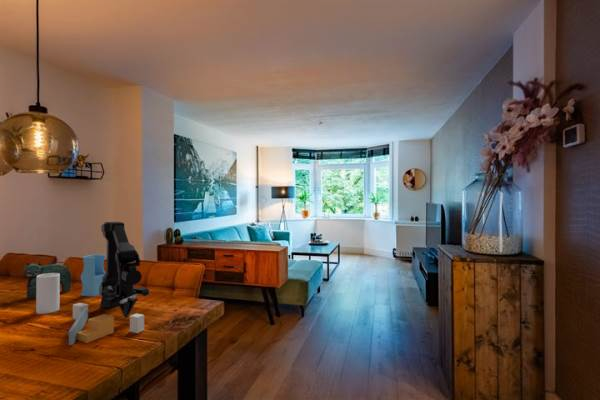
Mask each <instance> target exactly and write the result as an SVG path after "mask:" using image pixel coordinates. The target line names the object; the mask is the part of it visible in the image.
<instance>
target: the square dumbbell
mask: <svg viewBox="0 0 600 400" xmlns="http://www.w3.org/2000/svg"><path fill="white" fill-rule="evenodd" d="M86 307H88V308H89V304H88V303H83V302H77V303H74V304H72V320H75V321H76V319H77V318H78V316H79V315H80V313H81V312H82V310H83V309H84V308H86ZM143 331H145V315H144V314H142V313H134V314H131V315H130V316H129V332H131V333H134V334H135V333H136V334H139V333H141V332H143Z"/></svg>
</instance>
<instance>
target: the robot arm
mask: <svg viewBox="0 0 600 400" xmlns="http://www.w3.org/2000/svg"><path fill="white" fill-rule="evenodd" d="M100 229H101V233H102V236H103V238H104V239H105V240H106V271H105V275H104V276H103V278H102V282H101V284H100V288H99V294H100V296H101V300H100V305H99V308H101V309H102V308H103V309H108V310H109V309H113V308H115V307H116V308H117V307H119V308H120V310H121V313H122V316H123V317H124V318H125V319H126V318H128V317H130V316H129V315H130V313H131V311H132V310H133V308H134V306H135V305H136V303H137V301H139V299H138V298H136V296H140V295H141V296H143V297H146V296H149V295H150V290H149V288H147V287H141V286H138V287H135V285H137V284H138V283H140V281H141V280H142V277H143V276H142V273H141V272H140V270H137V267H141V259H140V254H139V253H138V251H137V250H136V248H135V246H134V245H132V244H131V243H130V242H129V239H128V236H127V233H126V229H125V222H122V221H105V222H104V224H103V223H102V224H101V228H100Z"/></svg>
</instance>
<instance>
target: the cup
mask: <svg viewBox="0 0 600 400" xmlns="http://www.w3.org/2000/svg"><path fill="white" fill-rule="evenodd" d="M60 286H61V284H60V274H59V273H47V274H41V275H38V276H37V277H36V299H35V301H36V302H35V304H36V306H35V308H36V309H35V311H36V312H35V313H36V314H39V315H40V314H41V315H44V314H50V313H51V314H52V313H55V312H58V311H59V310H60V301H61V300H60V289H61V287H60Z"/></svg>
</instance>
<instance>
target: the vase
mask: <svg viewBox="0 0 600 400" xmlns="http://www.w3.org/2000/svg"><path fill="white" fill-rule="evenodd" d="M106 257H107V254H90V255H85V256H82V262H83V270H82V272H81V275H80V280H81V283H82V284H81V285H82V287H81V288H82V290H81V293H80V297H81V296H83V297H97V296H99V295H100V294H99V288H100V284H101V282H102V278H103V276H104V275H105V273H106V271H105V269H104V264H105V263H104V262H105V259H106ZM100 296H101V295H100Z"/></svg>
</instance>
